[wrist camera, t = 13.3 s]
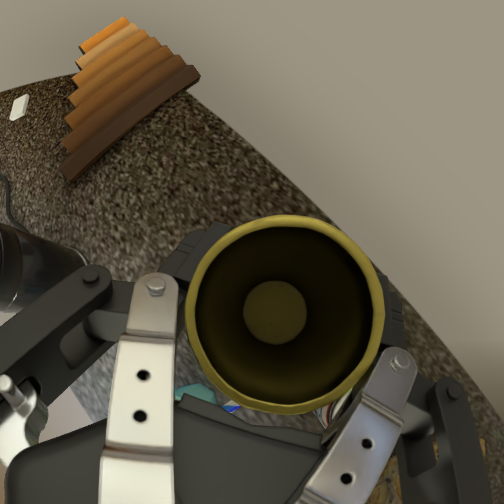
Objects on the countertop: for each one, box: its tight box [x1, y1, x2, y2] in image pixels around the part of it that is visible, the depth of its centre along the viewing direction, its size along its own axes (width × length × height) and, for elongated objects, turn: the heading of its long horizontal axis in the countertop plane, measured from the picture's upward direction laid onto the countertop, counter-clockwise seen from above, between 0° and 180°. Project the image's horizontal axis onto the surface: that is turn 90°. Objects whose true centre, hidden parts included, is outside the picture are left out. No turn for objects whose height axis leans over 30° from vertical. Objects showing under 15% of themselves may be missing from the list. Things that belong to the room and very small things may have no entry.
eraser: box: [10, 94, 29, 121], centre depth 45 cm, size 1×5×4 cm
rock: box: [366, 434, 486, 504], centre depth 27 cm, size 19×9×15 cm
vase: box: [185, 215, 385, 415], centre depth 15 cm, size 6×6×14 cm
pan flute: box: [59, 17, 201, 183], centre depth 43 cm, size 25×3×25 cm
